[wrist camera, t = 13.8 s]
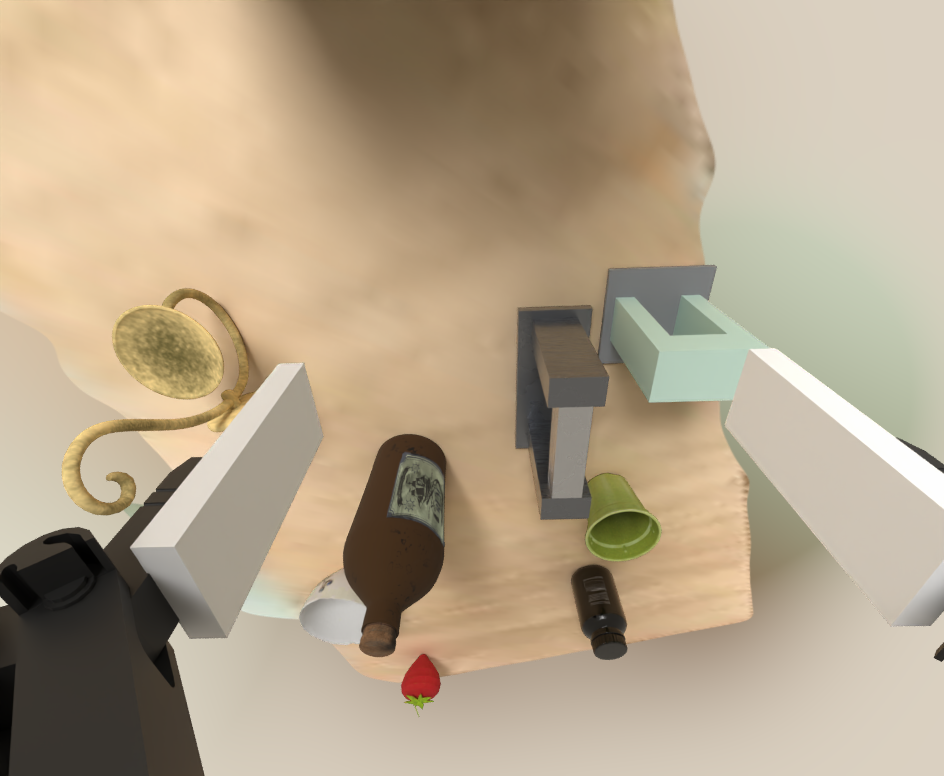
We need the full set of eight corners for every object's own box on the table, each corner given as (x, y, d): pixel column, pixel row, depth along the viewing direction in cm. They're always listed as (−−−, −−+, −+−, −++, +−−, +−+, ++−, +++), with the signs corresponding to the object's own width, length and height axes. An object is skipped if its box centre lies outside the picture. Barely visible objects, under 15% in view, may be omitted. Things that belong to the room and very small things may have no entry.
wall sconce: (302, 371, 53) (186, 540, 31) (231, 389, 54) (74, 563, 33) (240, 259, 46) (38, 378, 24) (162, 282, 47) (-96, 415, 26)
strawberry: (447, 658, 86) (444, 717, 77) (413, 666, 88) (407, 725, 79) (434, 643, 83) (430, 702, 75) (399, 651, 85) (391, 710, 76)
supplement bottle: (563, 584, 74) (577, 658, 64) (582, 559, 71) (601, 634, 60) (599, 593, 75) (619, 667, 65) (619, 569, 72) (644, 643, 62)
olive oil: (420, 500, 64) (392, 690, 42) (357, 464, 60) (293, 652, 39) (466, 456, 60) (462, 644, 38) (402, 415, 56) (357, 596, 35)
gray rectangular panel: (608, 268, 46) (610, 270, 46) (714, 264, 46) (717, 266, 45) (597, 361, 52) (598, 363, 51) (690, 358, 52) (693, 360, 51)
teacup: (298, 569, 72) (280, 616, 65) (357, 542, 69) (344, 589, 62) (357, 615, 79) (346, 662, 72) (414, 592, 75) (408, 640, 68)
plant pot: (560, 481, 62) (572, 530, 54) (622, 452, 59) (643, 499, 52) (590, 520, 66) (605, 570, 58) (649, 494, 63) (673, 543, 56)
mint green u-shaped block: (615, 297, 47) (659, 351, 36) (700, 294, 47) (770, 348, 36) (609, 340, 50) (648, 402, 39) (689, 337, 50) (752, 399, 39)
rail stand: (517, 307, 48) (532, 368, 37) (590, 305, 48) (628, 365, 36) (515, 443, 58) (525, 526, 46) (575, 441, 58) (602, 524, 46)
